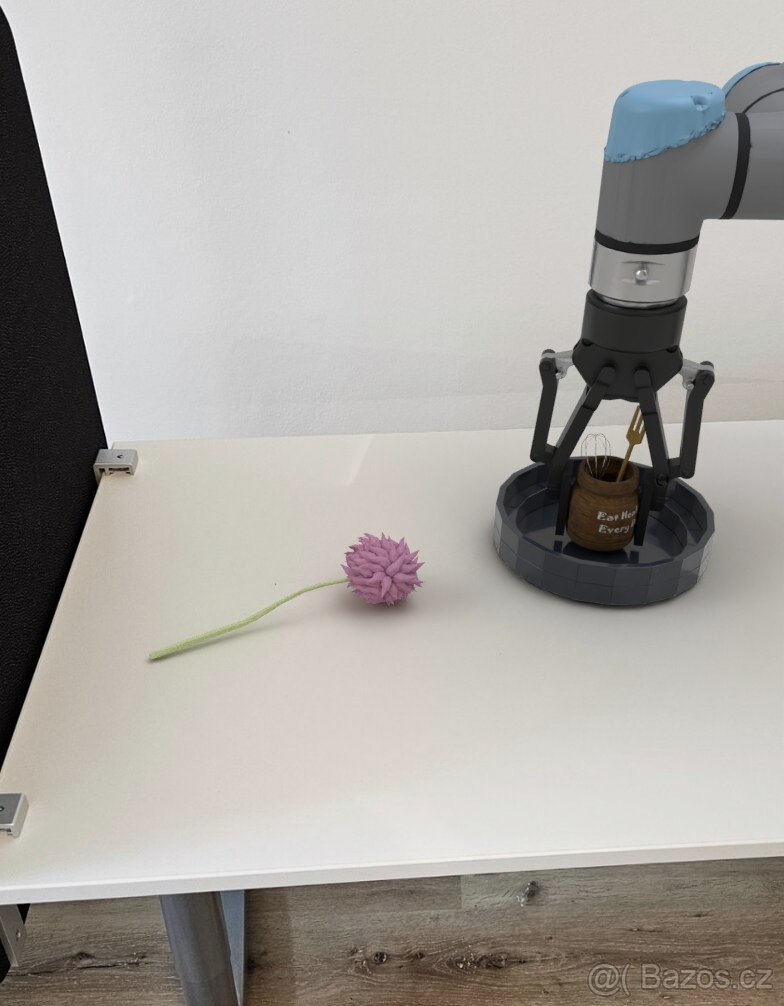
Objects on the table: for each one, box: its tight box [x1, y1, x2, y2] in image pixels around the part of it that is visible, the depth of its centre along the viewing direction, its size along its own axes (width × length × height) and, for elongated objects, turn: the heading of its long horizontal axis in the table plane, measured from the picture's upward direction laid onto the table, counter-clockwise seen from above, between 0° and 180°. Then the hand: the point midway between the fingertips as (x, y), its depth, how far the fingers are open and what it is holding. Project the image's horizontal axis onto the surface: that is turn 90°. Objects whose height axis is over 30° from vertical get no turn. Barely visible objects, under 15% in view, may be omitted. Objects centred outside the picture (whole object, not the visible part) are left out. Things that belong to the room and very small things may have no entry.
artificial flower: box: [148, 531, 426, 660], centre depth 91 cm, size 7×7×25 cm
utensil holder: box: [566, 405, 646, 551], centre depth 94 cm, size 6×6×12 cm
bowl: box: [492, 455, 716, 606], centre depth 97 cm, size 18×18×4 cm
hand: (598, 531), depth 97 cm, fingers closed on utensil holder, 6 cm apart
